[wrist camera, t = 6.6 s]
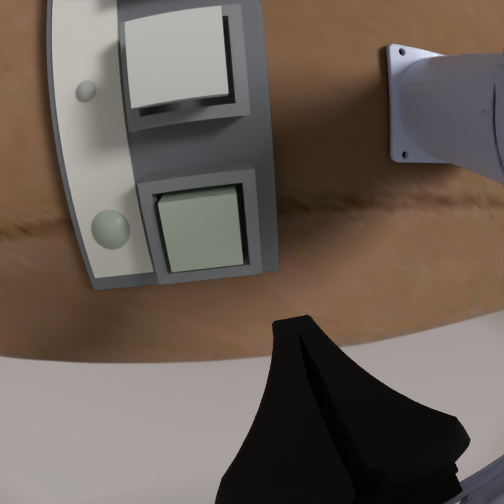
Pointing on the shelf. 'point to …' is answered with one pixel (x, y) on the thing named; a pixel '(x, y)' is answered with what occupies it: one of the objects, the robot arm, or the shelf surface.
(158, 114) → the button board
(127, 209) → the pattern card
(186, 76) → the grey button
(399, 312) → the shelf surface
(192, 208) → the sage button
